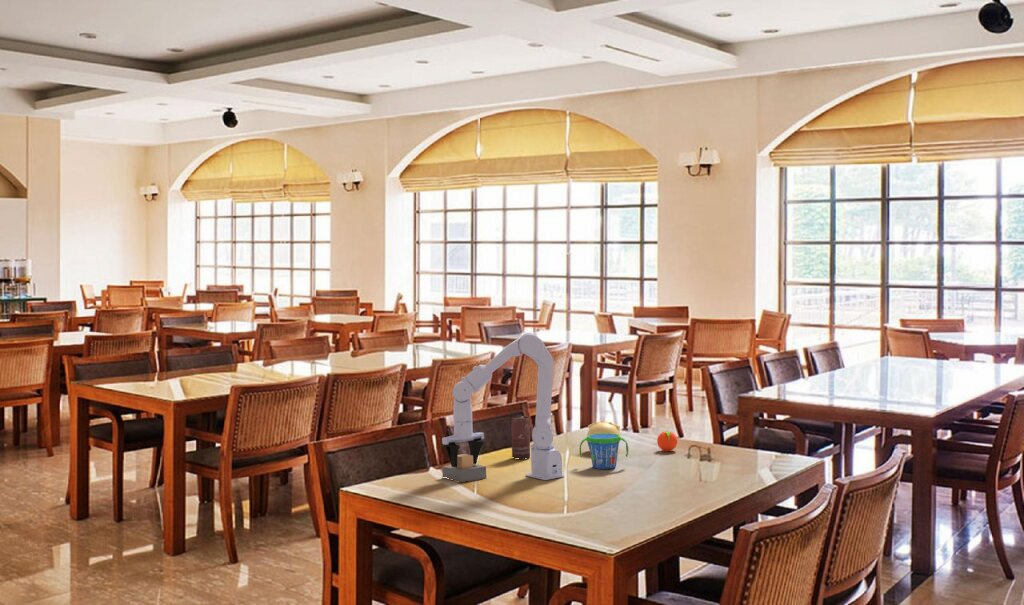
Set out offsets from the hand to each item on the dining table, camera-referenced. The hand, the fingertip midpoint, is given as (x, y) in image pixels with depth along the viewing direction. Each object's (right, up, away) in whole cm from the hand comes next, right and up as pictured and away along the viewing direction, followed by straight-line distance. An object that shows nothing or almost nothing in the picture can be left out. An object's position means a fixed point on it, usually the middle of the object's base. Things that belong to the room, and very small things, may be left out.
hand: (464, 465), depth 303 cm
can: (+18, -3, +31) cm, 36 cm away
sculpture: (+47, -2, +40) cm, 61 cm away
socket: (0, -4, 0) cm, 4 cm away
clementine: (+68, -2, +38) cm, 78 cm away
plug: (0, -3, 0) cm, 3 cm away
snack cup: (+44, -3, +12) cm, 46 cm away
